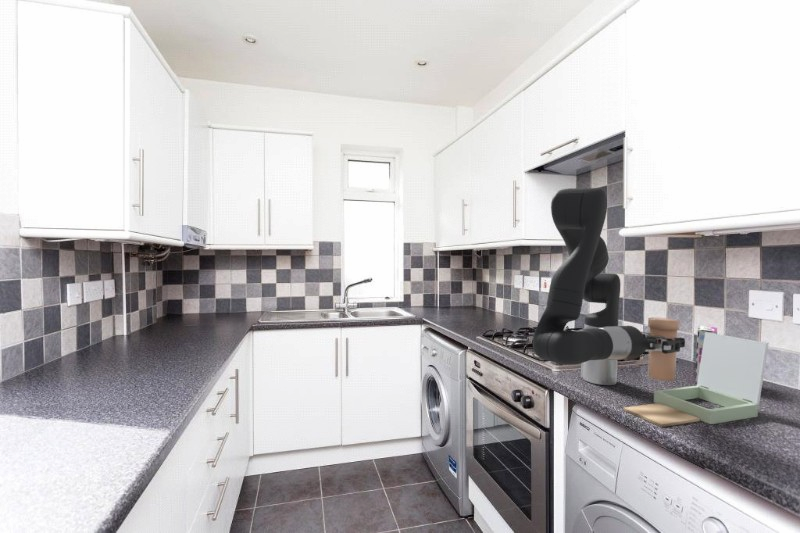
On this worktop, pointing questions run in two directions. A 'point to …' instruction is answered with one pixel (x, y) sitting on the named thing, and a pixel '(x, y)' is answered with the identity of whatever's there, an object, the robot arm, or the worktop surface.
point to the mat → (661, 414)
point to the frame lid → (733, 366)
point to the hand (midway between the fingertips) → (670, 339)
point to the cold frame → (729, 412)
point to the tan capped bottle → (659, 362)
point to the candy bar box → (701, 345)
